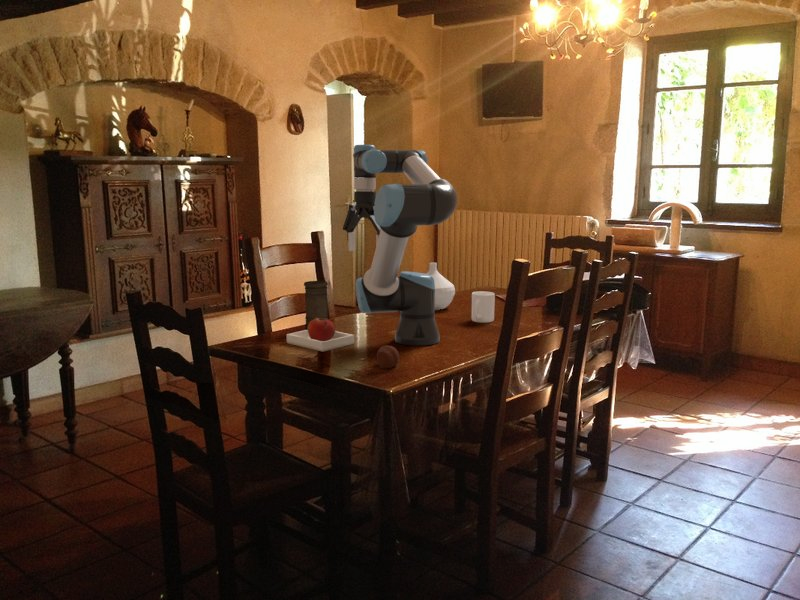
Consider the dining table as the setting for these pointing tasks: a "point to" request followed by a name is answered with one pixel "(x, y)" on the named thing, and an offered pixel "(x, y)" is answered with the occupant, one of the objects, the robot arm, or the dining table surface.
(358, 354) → the dining table surface
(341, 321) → the dining table surface
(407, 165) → the robot arm
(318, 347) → the dish
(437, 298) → the vase
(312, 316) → the container
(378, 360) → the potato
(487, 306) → the mug
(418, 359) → the dining table surface
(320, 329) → the tomato
